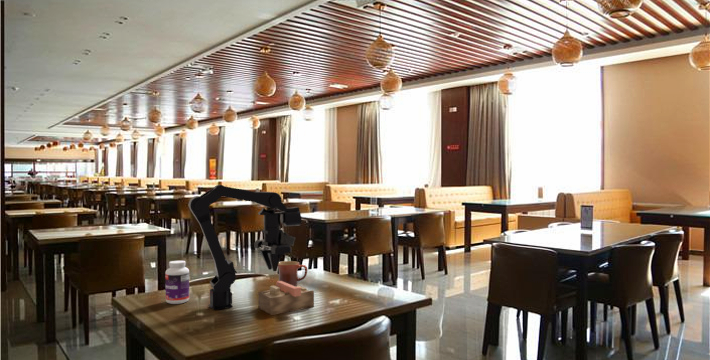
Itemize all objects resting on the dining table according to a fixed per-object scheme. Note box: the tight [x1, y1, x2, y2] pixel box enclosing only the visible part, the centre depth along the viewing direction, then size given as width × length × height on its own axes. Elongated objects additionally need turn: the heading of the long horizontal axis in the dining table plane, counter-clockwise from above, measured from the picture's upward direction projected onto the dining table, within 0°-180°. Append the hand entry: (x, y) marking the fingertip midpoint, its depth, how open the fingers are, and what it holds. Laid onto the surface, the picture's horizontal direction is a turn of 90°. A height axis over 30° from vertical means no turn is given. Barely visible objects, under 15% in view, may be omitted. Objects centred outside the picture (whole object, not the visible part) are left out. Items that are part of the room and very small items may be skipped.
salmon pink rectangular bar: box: [276, 280, 302, 297], centre depth 163 cm, size 2×14×3 cm, turn 35°
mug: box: [277, 260, 308, 286], centre depth 191 cm, size 12×9×10 cm
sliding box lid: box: [265, 285, 310, 297], centre depth 165 cm, size 14×7×3 cm, turn 125°
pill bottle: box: [164, 260, 190, 305], centre depth 173 cm, size 8×8×14 cm
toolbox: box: [257, 284, 315, 316], centre depth 165 cm, size 16×10×6 cm, turn 125°
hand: (272, 270), depth 173 cm, fingers open, 4 cm apart
